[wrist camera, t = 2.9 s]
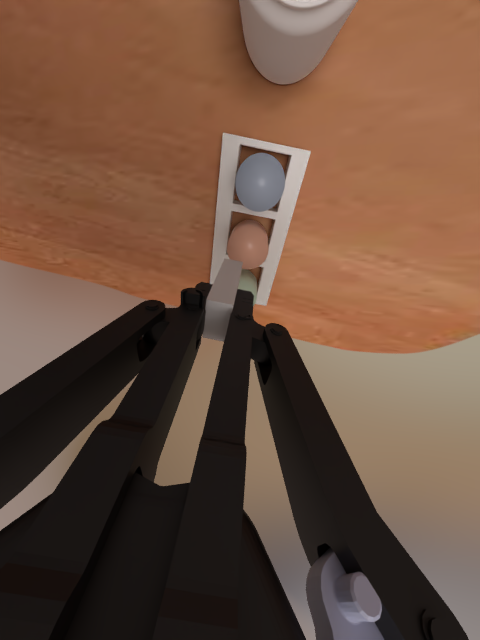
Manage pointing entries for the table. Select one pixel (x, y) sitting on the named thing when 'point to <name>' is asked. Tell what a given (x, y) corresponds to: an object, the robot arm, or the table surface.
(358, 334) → the table surface
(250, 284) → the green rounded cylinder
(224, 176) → the three-ball tray
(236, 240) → the button terracotta
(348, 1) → the beverage can
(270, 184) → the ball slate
